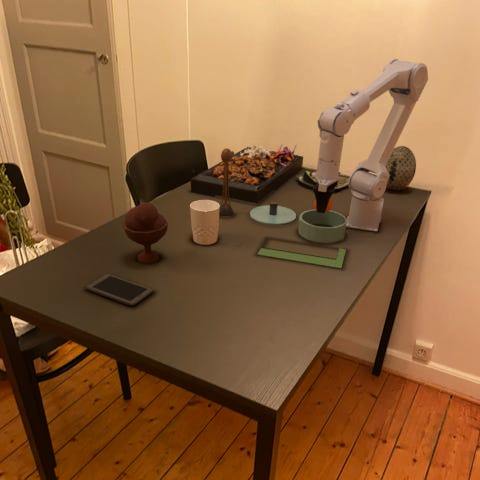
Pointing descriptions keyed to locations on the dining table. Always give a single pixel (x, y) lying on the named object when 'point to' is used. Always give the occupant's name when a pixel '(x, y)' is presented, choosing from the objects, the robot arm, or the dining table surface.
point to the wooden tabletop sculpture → (226, 183)
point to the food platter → (249, 174)
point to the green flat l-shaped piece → (305, 257)
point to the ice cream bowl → (145, 229)
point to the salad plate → (309, 182)
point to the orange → (327, 206)
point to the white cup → (205, 221)
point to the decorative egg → (400, 168)
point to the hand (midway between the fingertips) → (322, 208)
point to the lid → (273, 214)
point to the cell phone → (119, 289)
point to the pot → (322, 232)
